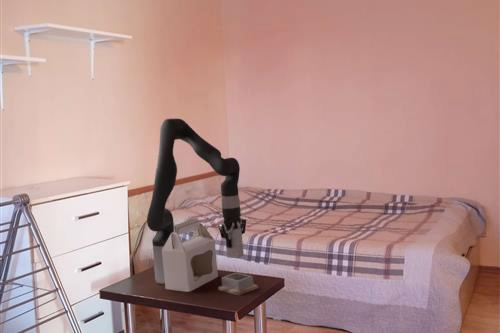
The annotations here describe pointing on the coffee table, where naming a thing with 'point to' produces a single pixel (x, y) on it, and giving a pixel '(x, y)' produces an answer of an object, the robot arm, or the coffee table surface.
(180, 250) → the gable box
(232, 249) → the skincare box
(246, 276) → the duct collar
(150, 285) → the coffee table surface
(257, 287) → the birch board
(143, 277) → the coffee table surface
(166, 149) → the robot arm
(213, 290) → the coffee table surface
